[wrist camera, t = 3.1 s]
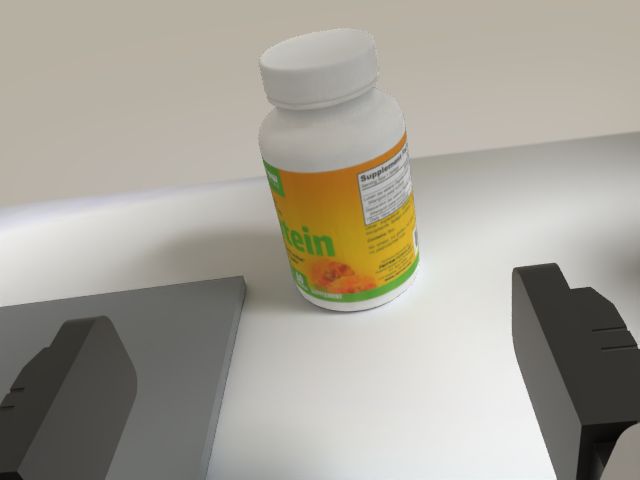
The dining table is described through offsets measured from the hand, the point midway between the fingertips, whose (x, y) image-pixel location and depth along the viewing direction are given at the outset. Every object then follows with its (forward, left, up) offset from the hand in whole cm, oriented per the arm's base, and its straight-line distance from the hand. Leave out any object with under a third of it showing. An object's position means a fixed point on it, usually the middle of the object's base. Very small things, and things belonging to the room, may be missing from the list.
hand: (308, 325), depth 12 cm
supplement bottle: (-10, -6, -8) cm, 14 cm away
